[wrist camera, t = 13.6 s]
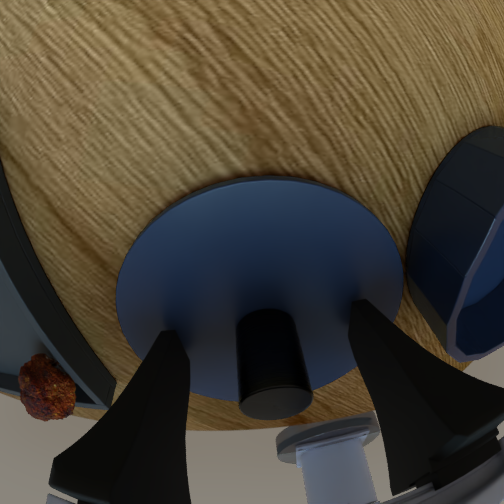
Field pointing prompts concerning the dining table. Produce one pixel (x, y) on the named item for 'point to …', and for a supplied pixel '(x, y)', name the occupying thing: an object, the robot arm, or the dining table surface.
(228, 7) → the dining table surface
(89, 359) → the tray
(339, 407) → the dining table surface
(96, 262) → the dining table surface
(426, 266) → the tin
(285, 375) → the tin lid
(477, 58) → the dining table surface
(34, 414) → the meatball
